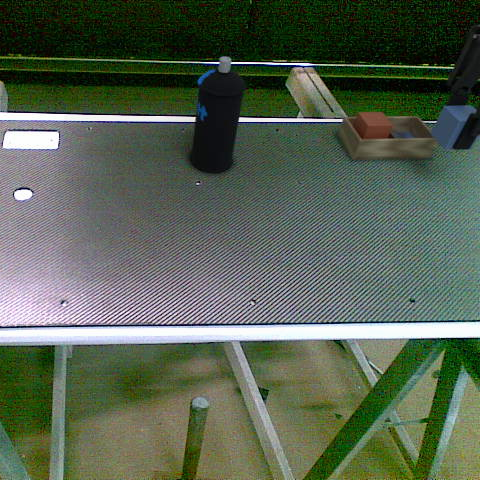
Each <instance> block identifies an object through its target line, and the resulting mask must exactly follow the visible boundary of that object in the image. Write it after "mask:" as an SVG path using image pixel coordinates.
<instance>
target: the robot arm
mask: <svg viewBox="0 0 480 480" xmlns="http://www.w3.org/2000/svg"><path fill="white" fill-rule="evenodd" d="M479 79H480V24H473V25H471V26H470V28H469V31H468V37H467V39H466V42H465V44H464V46H463V48H462V50H461V52H460V54H459V57H458V58H457V60H456V62H455V64H454V66H453V68H452V70H451V72H450V74H449V76H448V77H447V80H446V85H447V86H450V88H451V89H450V96H449V98H448V100H447V101H446V104H445V106H465V105H467V104H468V102H469V100H470V97H469V96H468V95H471V94H473V92H472V88H473V87H474V86H475V85H476V84H477V82H478V81H479ZM477 136H479V137H480V101H479V102H478V105H477V107H476V113H471V114H470V116H469V117H468V119H467V121H466V123H465V125H464V127H463V129H462V130H461V132H460V134H459V136H458V138H457V140H456V141H455V143H454V145H453V147H452V148H453V149H452V150H453V151H463V150H465V151H466V150H471V149H470V147H471V146H472V144H473V142H474V140H475V139H476V137H477Z"/></svg>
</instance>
